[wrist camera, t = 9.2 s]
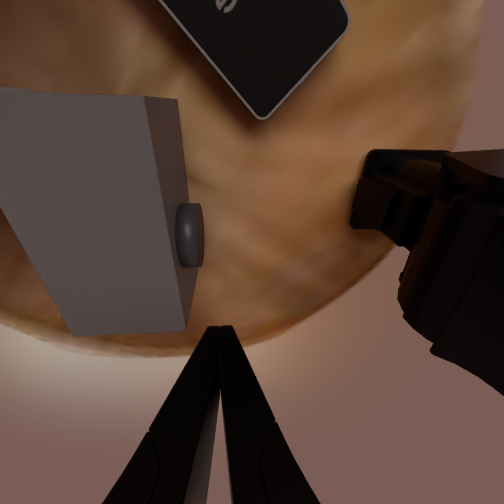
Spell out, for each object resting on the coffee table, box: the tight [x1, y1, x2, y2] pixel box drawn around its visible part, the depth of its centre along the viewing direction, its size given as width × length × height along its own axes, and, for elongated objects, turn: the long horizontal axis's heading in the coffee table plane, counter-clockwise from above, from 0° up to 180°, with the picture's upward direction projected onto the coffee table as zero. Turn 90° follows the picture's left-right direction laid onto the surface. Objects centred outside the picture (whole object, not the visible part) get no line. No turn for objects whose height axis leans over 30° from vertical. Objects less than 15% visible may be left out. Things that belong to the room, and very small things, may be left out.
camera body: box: [0, 91, 204, 336], centre depth 16 cm, size 9×14×7 cm, turn 179°
